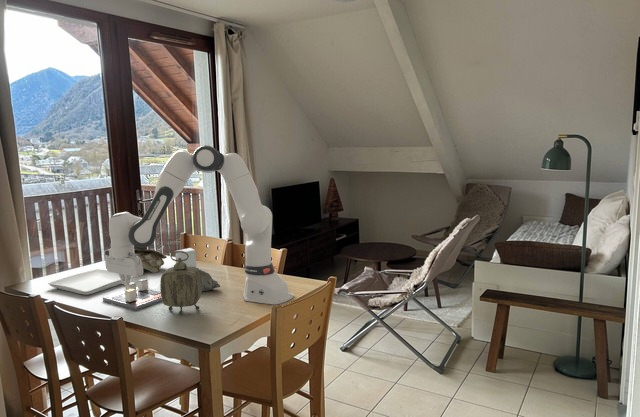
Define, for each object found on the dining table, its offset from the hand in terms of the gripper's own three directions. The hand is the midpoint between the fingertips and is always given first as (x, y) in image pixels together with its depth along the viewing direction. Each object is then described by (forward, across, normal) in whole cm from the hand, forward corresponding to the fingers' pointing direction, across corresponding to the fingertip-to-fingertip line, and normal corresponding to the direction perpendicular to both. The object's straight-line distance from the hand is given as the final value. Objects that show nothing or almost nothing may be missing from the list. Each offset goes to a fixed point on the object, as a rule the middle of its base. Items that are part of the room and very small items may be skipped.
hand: (125, 284), depth 201 cm
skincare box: (+9, +6, -38) cm, 39 cm away
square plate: (+9, +37, -8) cm, 39 cm away
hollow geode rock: (+9, +42, -38) cm, 57 cm away
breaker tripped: (+6, -3, 0) cm, 7 cm away
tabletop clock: (+9, -28, -5) cm, 30 cm away
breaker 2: (+6, +5, -12) cm, 14 cm away
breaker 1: (+6, +5, -6) cm, 10 cm away
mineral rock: (+10, -14, -29) cm, 33 cm away
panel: (+9, +1, -6) cm, 10 cm away
